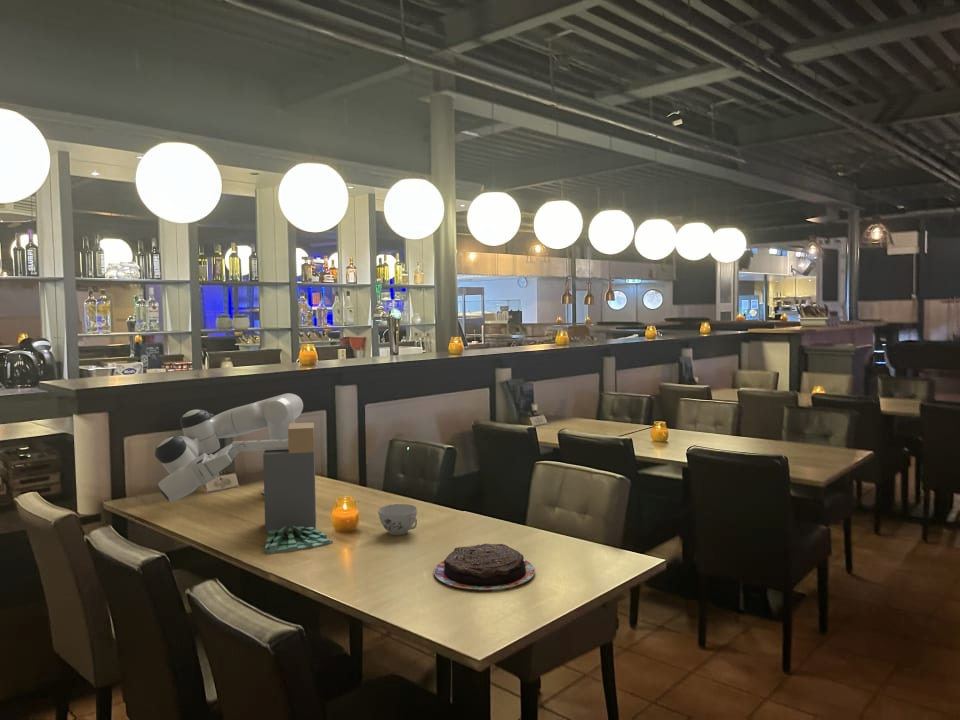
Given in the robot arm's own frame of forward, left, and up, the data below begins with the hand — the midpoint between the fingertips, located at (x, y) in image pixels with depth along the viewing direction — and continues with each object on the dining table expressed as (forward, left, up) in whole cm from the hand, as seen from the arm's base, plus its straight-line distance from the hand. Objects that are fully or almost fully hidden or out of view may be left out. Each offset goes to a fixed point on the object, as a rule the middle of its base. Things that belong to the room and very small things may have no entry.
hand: (244, 444), depth 243 cm
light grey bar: (0, +8, -2) cm, 9 cm away
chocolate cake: (+57, +68, -29) cm, 94 cm away
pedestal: (0, +14, -28) cm, 32 cm away
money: (+20, +15, -29) cm, 38 cm away
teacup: (+16, +49, -29) cm, 59 cm away
